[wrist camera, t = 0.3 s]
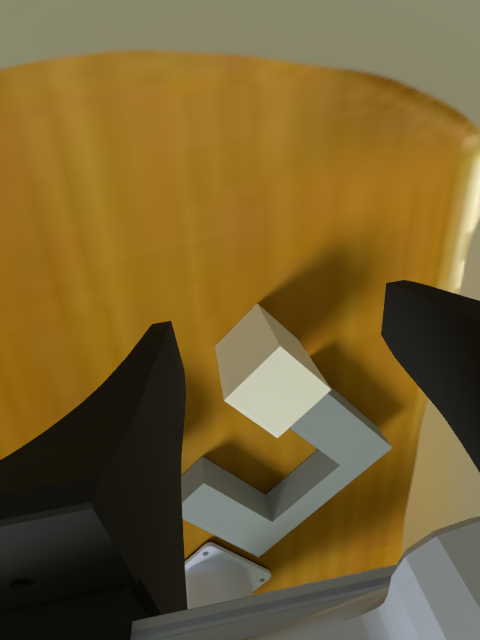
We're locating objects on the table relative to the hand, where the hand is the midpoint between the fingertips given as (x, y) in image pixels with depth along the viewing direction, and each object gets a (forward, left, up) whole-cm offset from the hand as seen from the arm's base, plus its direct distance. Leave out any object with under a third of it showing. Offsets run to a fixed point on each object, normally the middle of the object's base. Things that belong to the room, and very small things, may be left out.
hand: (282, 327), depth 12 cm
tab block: (-3, -5, -10) cm, 12 cm away
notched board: (-9, -13, -10) cm, 19 cm away
